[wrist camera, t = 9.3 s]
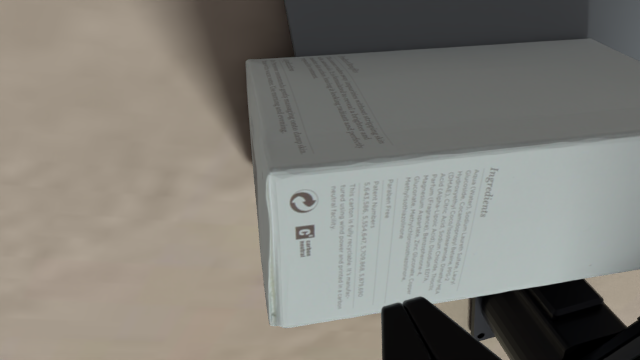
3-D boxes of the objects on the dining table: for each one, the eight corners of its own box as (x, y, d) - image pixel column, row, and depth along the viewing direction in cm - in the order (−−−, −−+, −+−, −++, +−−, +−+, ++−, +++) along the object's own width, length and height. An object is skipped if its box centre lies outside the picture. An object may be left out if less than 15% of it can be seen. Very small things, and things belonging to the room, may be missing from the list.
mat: (650, 166, 26) (658, 172, 25) (332, 250, 24) (334, 258, 24) (758, -208, 17) (776, -211, 16) (262, -112, 15) (264, -111, 15)
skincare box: (265, 334, 14) (701, 282, 16) (255, 157, 10) (806, 123, 13) (252, 179, 21) (558, 158, 23) (243, 42, 17) (602, 34, 20)
